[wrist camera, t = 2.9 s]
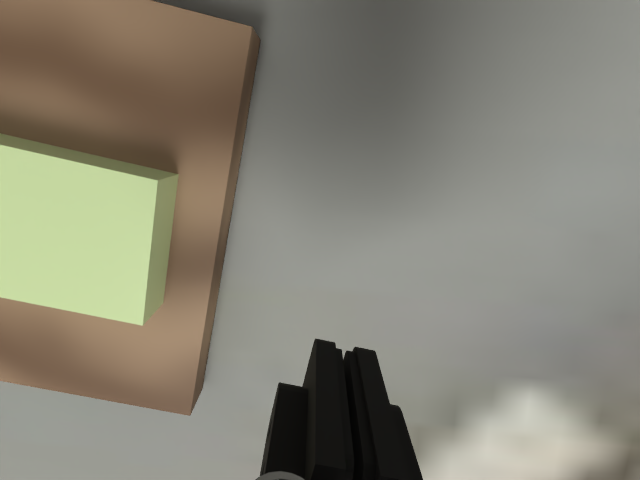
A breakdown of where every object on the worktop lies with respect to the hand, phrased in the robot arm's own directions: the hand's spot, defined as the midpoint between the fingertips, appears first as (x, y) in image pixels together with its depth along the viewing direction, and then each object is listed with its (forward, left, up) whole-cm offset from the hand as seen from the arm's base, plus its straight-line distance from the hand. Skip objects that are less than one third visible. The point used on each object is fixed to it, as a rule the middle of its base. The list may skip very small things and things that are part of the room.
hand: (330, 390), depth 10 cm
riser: (-1, -11, -9) cm, 14 cm away
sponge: (-1, -12, -6) cm, 13 cm away
